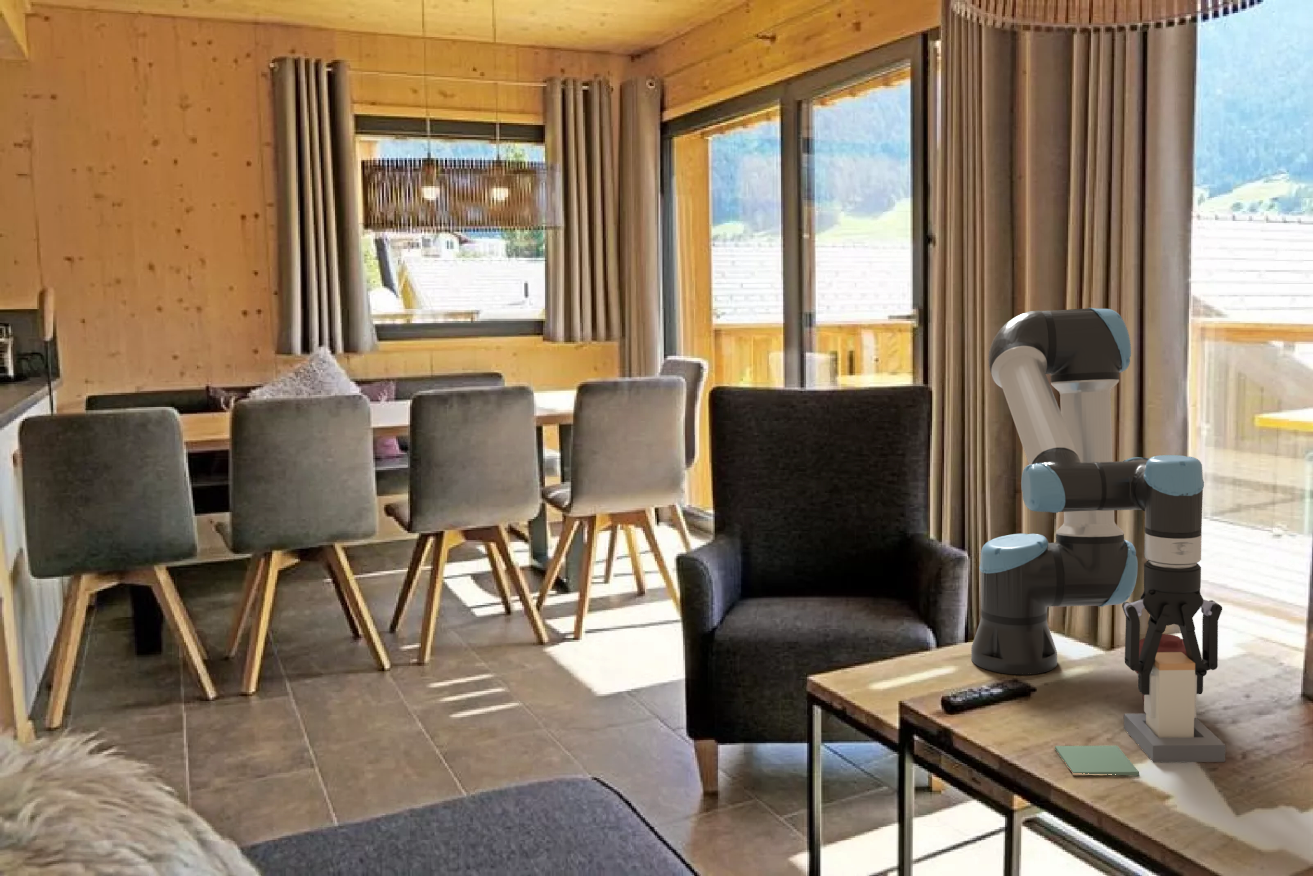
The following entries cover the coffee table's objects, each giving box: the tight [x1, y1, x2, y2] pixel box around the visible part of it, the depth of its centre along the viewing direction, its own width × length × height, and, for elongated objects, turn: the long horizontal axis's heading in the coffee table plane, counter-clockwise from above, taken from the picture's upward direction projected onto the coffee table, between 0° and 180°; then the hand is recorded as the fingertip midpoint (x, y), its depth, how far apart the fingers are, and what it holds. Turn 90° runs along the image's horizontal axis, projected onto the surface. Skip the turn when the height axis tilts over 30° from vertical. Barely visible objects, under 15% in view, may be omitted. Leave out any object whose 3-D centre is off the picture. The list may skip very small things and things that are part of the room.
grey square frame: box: [1123, 713, 1226, 763], centre depth 160 cm, size 12×10×2 cm
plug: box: [1145, 652, 1195, 738], centre depth 159 cm, size 5×5×13 cm
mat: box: [1054, 745, 1140, 776], centre depth 155 cm, size 9×9×1 cm
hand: (1169, 714), depth 160 cm, fingers closed on plug, 5 cm apart
